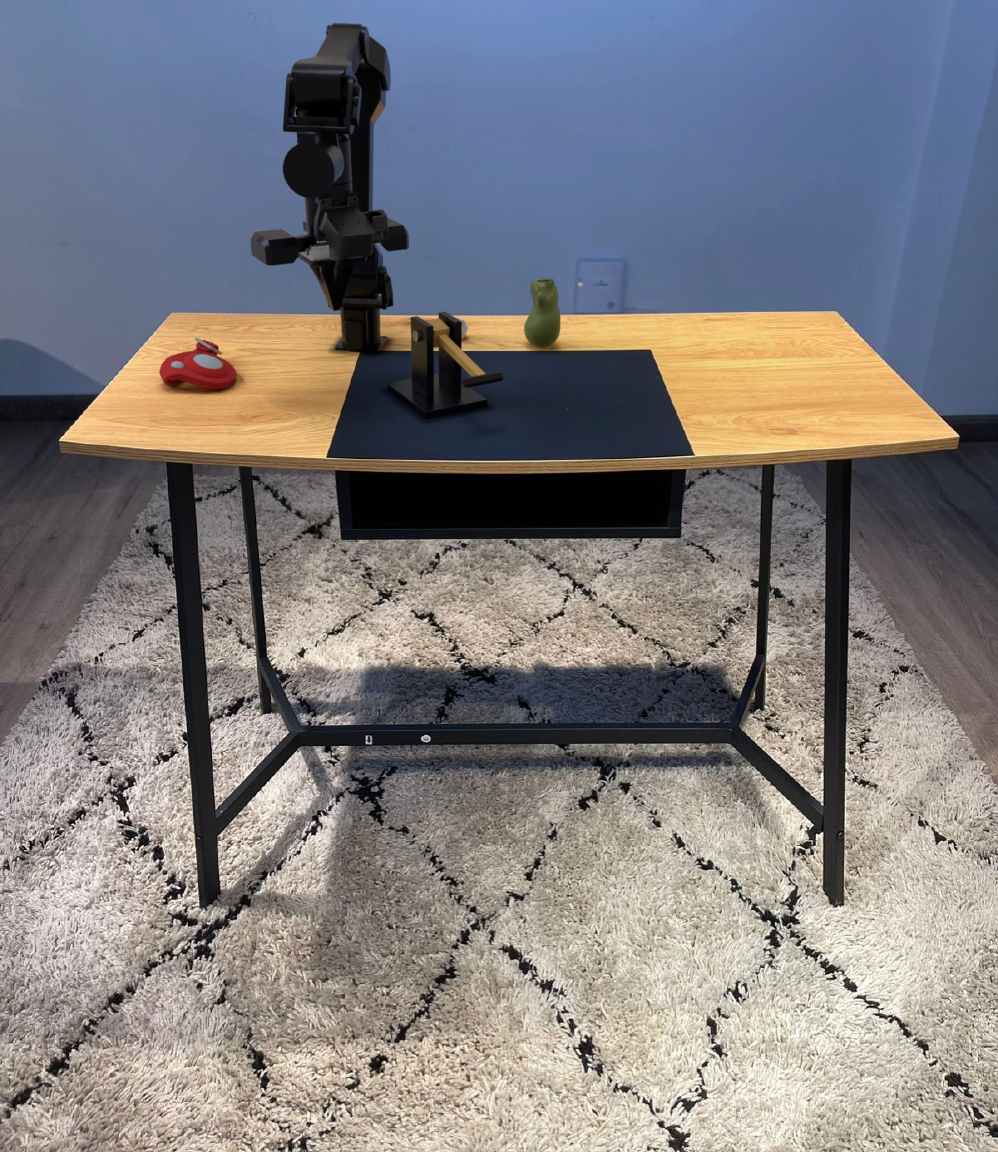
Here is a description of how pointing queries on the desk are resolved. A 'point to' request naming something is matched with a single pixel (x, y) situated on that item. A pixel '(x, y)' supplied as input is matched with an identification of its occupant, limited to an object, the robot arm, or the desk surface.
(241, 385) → the desk surface
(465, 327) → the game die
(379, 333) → the robot arm
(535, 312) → the green vase
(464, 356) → the latch lever
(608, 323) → the desk surface
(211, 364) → the tracker holder
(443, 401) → the latch bracket
